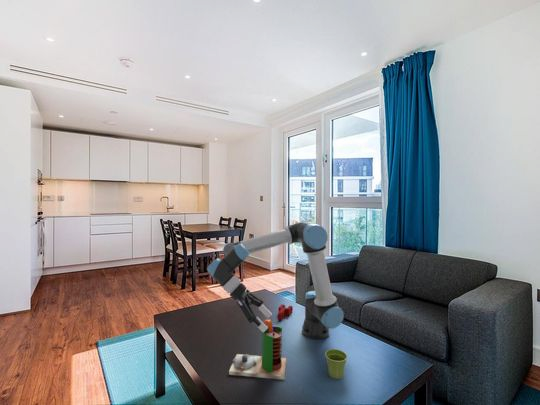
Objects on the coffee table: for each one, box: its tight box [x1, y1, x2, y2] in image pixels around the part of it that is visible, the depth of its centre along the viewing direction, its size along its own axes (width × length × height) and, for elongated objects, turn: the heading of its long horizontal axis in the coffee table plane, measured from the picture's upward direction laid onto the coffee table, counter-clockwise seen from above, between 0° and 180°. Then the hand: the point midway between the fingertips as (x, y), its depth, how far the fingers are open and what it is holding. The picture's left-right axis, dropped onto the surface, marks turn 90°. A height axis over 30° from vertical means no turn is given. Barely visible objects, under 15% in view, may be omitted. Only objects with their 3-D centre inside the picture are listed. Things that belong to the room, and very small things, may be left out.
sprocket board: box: [228, 353, 287, 380], centre depth 125 cm, size 24×13×4 cm, turn 82°
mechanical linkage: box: [277, 304, 293, 321], centre depth 178 cm, size 16×7×5 cm, turn 157°
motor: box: [261, 318, 283, 373], centre depth 123 cm, size 10×9×20 cm
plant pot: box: [324, 348, 348, 380], centre depth 120 cm, size 9×9×9 cm
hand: (267, 322), depth 123 cm, fingers open, 13 cm apart
